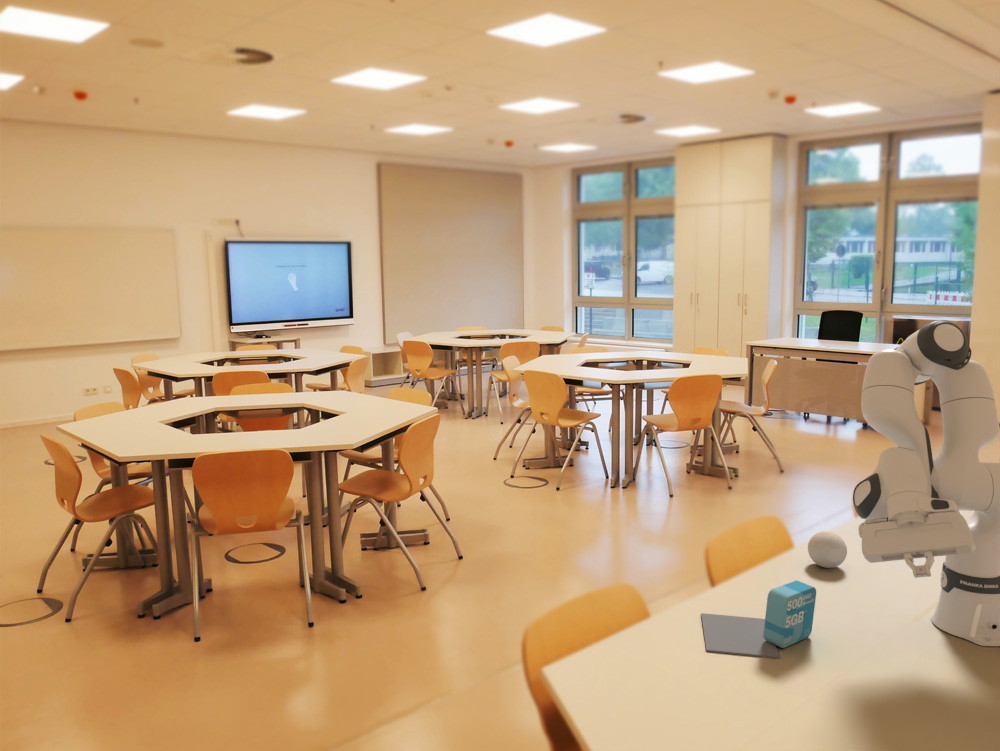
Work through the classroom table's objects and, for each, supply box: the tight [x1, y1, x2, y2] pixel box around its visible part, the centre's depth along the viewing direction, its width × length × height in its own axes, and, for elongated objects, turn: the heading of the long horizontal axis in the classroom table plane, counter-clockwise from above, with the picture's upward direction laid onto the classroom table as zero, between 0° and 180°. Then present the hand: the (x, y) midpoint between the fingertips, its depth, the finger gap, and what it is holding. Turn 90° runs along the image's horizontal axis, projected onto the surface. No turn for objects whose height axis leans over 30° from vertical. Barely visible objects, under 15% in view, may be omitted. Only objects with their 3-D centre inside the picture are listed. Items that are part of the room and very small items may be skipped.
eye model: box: [807, 530, 848, 569], centre depth 213 cm, size 10×10×10 cm
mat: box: [700, 612, 781, 659], centre depth 173 cm, size 15×18×1 cm
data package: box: [763, 580, 817, 649], centre depth 170 cm, size 12×4×12 cm, turn 126°
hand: (922, 575), depth 151 cm, fingers closed
